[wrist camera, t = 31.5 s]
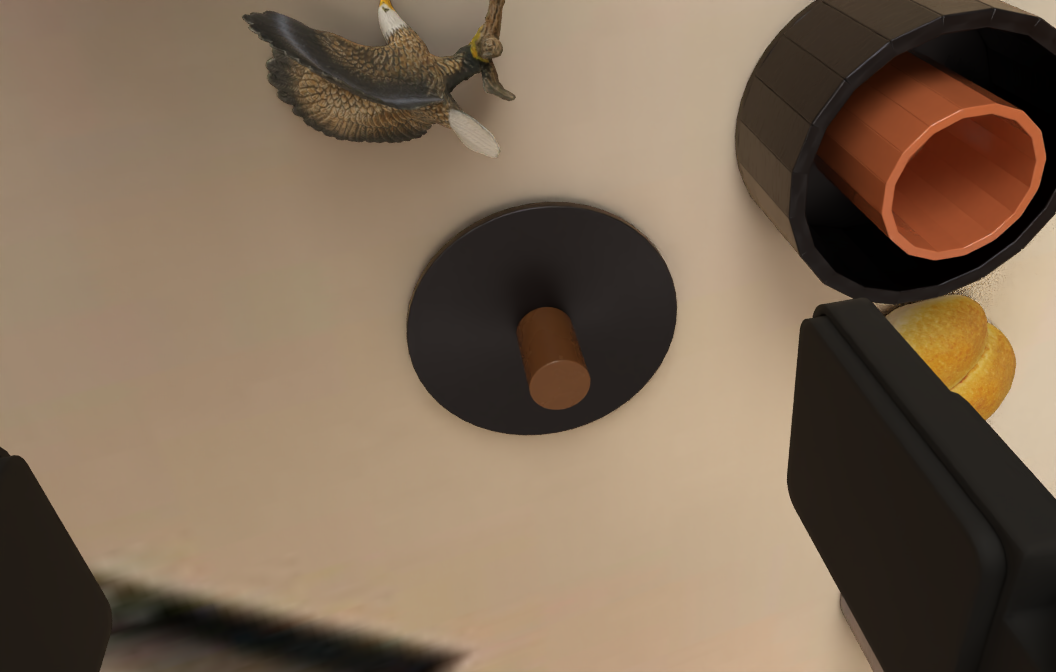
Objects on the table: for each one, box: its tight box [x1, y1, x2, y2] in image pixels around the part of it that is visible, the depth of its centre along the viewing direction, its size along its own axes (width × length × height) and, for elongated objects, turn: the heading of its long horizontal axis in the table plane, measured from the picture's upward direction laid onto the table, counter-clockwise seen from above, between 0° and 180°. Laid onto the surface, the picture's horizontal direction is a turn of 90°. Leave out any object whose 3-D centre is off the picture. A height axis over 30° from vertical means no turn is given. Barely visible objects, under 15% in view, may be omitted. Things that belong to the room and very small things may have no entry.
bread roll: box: [885, 294, 1016, 420], centre depth 47 cm, size 8×9×4 cm
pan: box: [735, 0, 1056, 305], centre depth 38 cm, size 12×12×6 cm
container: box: [813, 49, 1046, 260], centre depth 37 cm, size 6×6×8 cm
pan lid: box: [407, 202, 677, 435], centre depth 42 cm, size 13×13×6 cm
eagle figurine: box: [242, 0, 516, 158], centre depth 33 cm, size 8×7×9 cm
